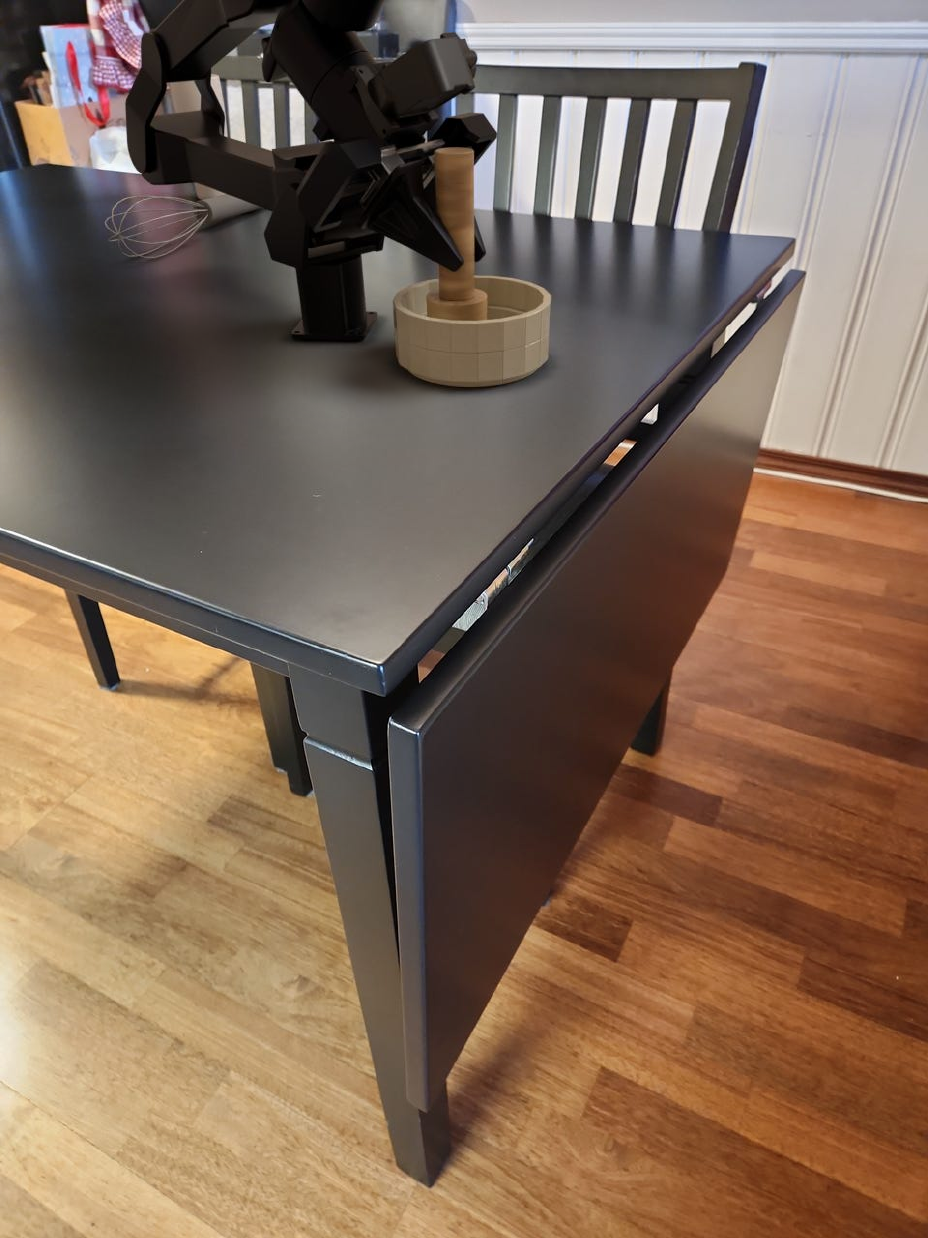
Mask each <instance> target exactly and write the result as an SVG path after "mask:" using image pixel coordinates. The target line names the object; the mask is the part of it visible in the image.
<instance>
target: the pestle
mask: <svg viewBox="0 0 928 1238" xmlns="http://www.w3.org/2000/svg"><path fill="white" fill-rule="evenodd" d="M434 156H435V188H436V213H437V215H438V217H439V218H440V220H441V222H442V223H443V225H444V227H445V228H446V230H447V231H448V233H449V235H450V236H451V238H452V240H453V241H454V243H455V245H456V247H457V248H458V250H459V252H460V254H461V256H462V258H463V260H464V264H463V266H462V267H461V268H460V269H459V270H458V271H456V272H452V271H450V270H448V269H447V268H445V267H443V266H441V265H439V264H437V273H438V274H437V279H438V285H439V289H437V290H434V291H431V292H430V293H428V294H427V296H426V306H427V317H430V318H436V319H444V320H452V321H482V320H487V294H486V293H485V292H484V291H482V290H479V289H475V284H474V276H475V262H474V215H475V166H474V151H473V150H472V149H470V148H462V147H450V148H441V149H437V150H435V152H434Z"/></svg>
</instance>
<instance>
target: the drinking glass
mask: <svg viewBox="0 0 928 1238" xmlns="http://www.w3.org/2000/svg"><path fill="white" fill-rule="evenodd" d="M211 86H212V88H213V90H214V92H215V95H216V97H217V99H218V101H219V103H220V105H221V107H222V109H223V111H224V113H225V130H224V136H225V137H229V134H228V123H227V114H226V106H225V105H226V104H225V99H224V93H223V88H222V83H221V78H220V76H219V75H218V74H215V73H211ZM169 89H170V93H171V99H172V105H173V108H174V109H173V110H174V113H181V112H190V111H199V110H200V111H201V94H200V92H199V90H198V88H197V86H196V84H195V82H194V81H185V82H174V83H169ZM193 184H194V190H195V194H196V197H197V199H199V200H204V199H208V198H212V197H216V196H220V195H224V194H225V193H222V192H220V191H217V190H215V189H212V188H209V187H207V186H204V185H201V184H199V183H193Z"/></svg>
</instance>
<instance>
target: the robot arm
mask: <svg viewBox="0 0 928 1238" xmlns="http://www.w3.org/2000/svg"><path fill="white" fill-rule="evenodd" d="M386 3H387V0H181V1H180V3H179V4H177V5H176V7H175V8H174V9H173V10H172V11H171V12H170V13H169V14H168V15H167V16H166V17H165V18H164V19H163V20H162V21H161V22H160V24H159V25H157V27H155V28H151V29H149V31H148V32H144V33H143V34H142V36H141V38H140V39H141V40H140V59H141V66H140V69H139V71H138V73H137V75H136V78H135V79H134V81H133V83H132V86H131V88H130V90H129V92H128V94H127V96H126V98H125V101H124V102H125V103H124V107H125V108H124V109H125V130H126V131H125V132H126V146H127V150H128V151H127V152H128V155H129V159H130V161H131V163H132V165H133V167H134V168H135V170H136V171H137V172H138V173H139V174H141V176H142V178H143V179H144V180H145V181H146V182H147V183H149V184H150V185H152V186H172V185H183V184H194V183H199V184H201V185H204V186H207V187H209V188H212V189H215V190H217V191H220V192H222V193H225V194H228V195H230V196H233V197H235V198H238V199H241V200H243V201H246V202H248V203H251V204H254V205H256V206H259V207H262V208H261V209H265V210H267V211H270V212H271V214H270V217H269V219H268V222H267V224H266V226H265V229H264V231H263V238H264V241H265V244H266V248H267V250H268V254H269V257H270V259H271V260H272V261H273V262H275V263H279V264H282V265H285V266H288V267H291V268H294V269H295V277H296V285H297V292H298V299H299V300H298V301H299V306H300V314H301V320H300V321H299V322H298V323H297V324H296V325H295V327H294V328H293V329H292V330H291V332H290V336H291V339H294V340H329V341H330V340H331V341H332V340H334V341H335V340H336V341H363V340H365V339H366V338H367V336H368V335H369V332H370V331H371V329H372V328H373V326H374V324H375V322H376V321H377V319H378V312H377V311H372V310H371V311H367V302H366V291H365V279H364V269H363V268H364V267H363V256H362V255H365V254H368V253H373V252H376V253H378V252H381V251H383V250H384V244H385V238H388V239H389V240H392V241H394V242H396V243H398V244H400V245H402V246H404V247H405V248H407V249H410V250H411V251H413V252H415V253H417V254H419V255H420V256H423V257H424V258H426V259H428V260H430V261H432V262H433V263H436V264H437V265H438V264H439V265H441V266H443V267H445V268H447V269H448V270H450V271H452V272H456V271H458V270H459V269H460V268H461V267H462V266H463V264H464V260H463V258H462V256H461V254H460V252H459V250H458V248H457V247H456V245H455V243H454V241H453V240H452V238H451V236H450V235H449V233H448V231H447V230H446V228H445V227H444V225H443V223H442V222H441V220H440V218H439V217H438V215H437V213H436V188H435V156H434V152H435V150H437V149H441V148H450V147H462V148H470V149H472V150H473V151H474V167H475V166H476V165H477V163H478V162H479V161H480V159H482V157H483V156H484V154H485V153H486V152H487V151H488V149H489V148H490V147H491V146H492V144H494V142H495V141H496V140H497V138H498V131H496V129H495V128H494V126H493V125H492V123H491V122H490V121H489V119H488V118H487V116H486V115H485V113H482V112H465V113H461V114H456V115H451V116H447V117H445V119H444V120H443V121H442V123H441V124H440V125H439V127H438V128H437V130H436V131H435V133H434V134H433V135H432V136H431V138H430V139H429V141H427V142H426V140H427V138H426V137H425V135H426V133H427V132H428V131H431V130H432V129H433V127H434V126H435V125H436V123H437V122H438V120H439V119H440V116H438V114H437V113H436V111H435V110H437V109H439V108H440V107H442V106H444V105H445V104H446V103H448V102H450V101H451V100H453V99H455V98H456V97H459V96H460V95H461V94H462V95H463V96H465V95H467V94H469V93H471V92H472V91H473V90H474V89H476V84H475V81H474V79H475V77H476V74H477V65H476V64H477V62H478V54H477V53H476V51H475V50H474V49H471V48H470V47H469V45H468V42H467V40H466V38H461V37H460V36H459V35H458V33H457V32H456V31H453V32H443V33H441V34H440V35H439V38H431V39H428V40H425V41H423V42H420V43H418V44H416V45H415V46H413V47H411V48H410V49H409V50H407V51H406V52H405V53H403V54H401V55H400V56H399V57H397V58H396V59H395V60H392V61H385V62H384V61H383V62H377V61H376V59H375V58H374V56H373V55H372V54H371V52H370V51H369V49H368V48H367V47H366V45H365V44H364V43H363V41H362V40H361V38H360V37H359V36H358V34H357V33H361V32H365V31H370V30H371V29H373V28H374V26H376V24H377V22H378V20H379V18H380V16H381V13H382V11H383V9H384V7H385V5H386ZM268 25H273V27H272V30H271V32H270V35H269V36H265V37H263V38H261V41H260V43H261V48H262V60H261V71H262V78H263V80H264V81H265V82H266V83H267V84H269V83H272V82H275V81H278V80H281V79H282V80H283V79H285V78H288V79H289V80H290V82H291V83H292V85H293V86H294V87H295V89H296V90H297V92H298V93H299V94H300V96H301V97H302V99H303V100H304V101H305V102H306V104H307V106H308V107H309V108H310V110H311V111H312V112H313V113H314V115H315V117H316V118H317V121H316V122H315V125H314V126H313V128H312V133H313V134H314V135H315V136H316V138H317V139H318V142H311V143H304V144H297V145H290V146H282V147H277V148H271V149H269V148H268V149H267V148H264V147H261V146H257V145H254V144H251V143H248V142H245V141H242V140H238V139H235V138H233V137H229V136H228V137H225V136H224V130H225V113H226V112H225V113H224V111H223V109H222V107H221V105H220V103H219V101H218V99H217V97H216V95H215V92H214V90H213V88H212V86H211V74H212V68H213V67H214V66H215V65H217V64H218V63H219V62H221V61H222V60H223V59H224V58H225V57H226V56H227V55H229V54H230V53H231V52H233V51H234V50H235V49H236V48H237V47H239V46H240V45H241V44H242V43H244V42H245V41H246V40H247V39H248V38H250V37H251V36H252V35H253V34H254V33H255V32H256V31H258V30H259V29H260V28H262V27H265V26H266V27H267V26H268ZM185 81H194V82H195V84H196V86H197V88H198V90H199V92H200V94H201V111H200V110H199V111H190V112H181V113H175V112H173V113H164V114H163V113H162V114H156V113H157V111H158V109H159V107H160V105H161V103H162V101H163V99H164V97H165V95H166V93H167V90H168V84H170V83H174V82H185ZM486 255H487V250H486V246H485V243H484V239H483V237H482V234H481V232H480V228H479V225H478V221H477V219H476V215H475V214H474V263H478V262H480V261H482V260H483V259H484V258H485V256H486Z"/></svg>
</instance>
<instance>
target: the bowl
mask: <svg viewBox="0 0 928 1238" xmlns="http://www.w3.org/2000/svg"><path fill="white" fill-rule="evenodd" d="M474 284H475V289H479V290H482V291H484V292H485V293H486V294H487V320H482V321H452V320H444V319H436V318H430V317H427V306H426V296H427V294H428V293H430V292H431V291H434V290H437V289H439V285H438V278H434V279H427V280H424V281H421V282H416V283H414V284H411V285H408V286H406V287H404V288H403V289H401V290H399V291H398V292H396V293H395V295H394V297H393V298H392V313H393V314H392V315H393V326H394V338H395V339H394V342H395V343H394V344H395V356H396V358H397V361H398V364H399V365H400V366H401V367H403V368H404V369H406V370H407V372H409V373H410V374H411V375H413V376H414V377H416V378H418V379H419V380H422V381H425V382H429V383H433V384H437V385H442V386H448V387H459V388H480V387H482V388H483V387H492V386H499V385H505V384H509V383H512V382H517V381H520V380H523V379H525V378H527V377H529V376H531V375H532V374H534V373H535V372H536V371H537V370H538V369H540V368H541V367H542V365H544V364H545V363H546V362H547V361H549V354H550V353H549V352H550V334H551V333H550V332H551V331H550V330H551V312H552V311H551V308H552V294H551V293H550V292H549V291H548V290H547V289H546V288H544V287H542V286H540V285H538V284H535V283H533V282H530V281H527V280H521V279H518V278H514V277H506V276H497V275H474Z"/></svg>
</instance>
